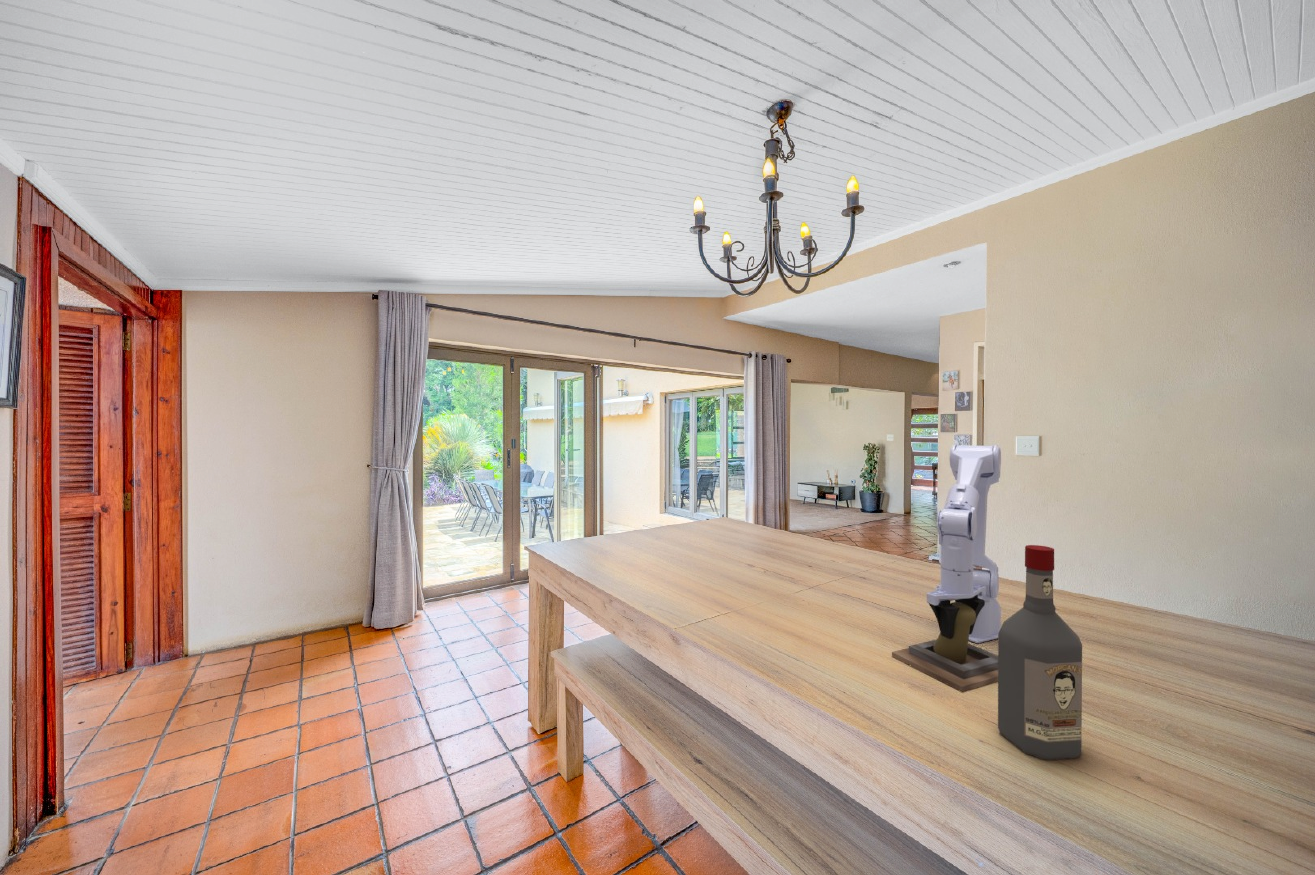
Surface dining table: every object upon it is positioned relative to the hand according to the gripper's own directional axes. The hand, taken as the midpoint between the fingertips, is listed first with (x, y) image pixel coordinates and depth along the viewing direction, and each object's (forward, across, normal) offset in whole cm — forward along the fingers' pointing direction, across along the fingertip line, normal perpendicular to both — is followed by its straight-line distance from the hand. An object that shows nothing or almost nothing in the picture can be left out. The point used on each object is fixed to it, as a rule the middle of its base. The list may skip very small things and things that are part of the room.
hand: (956, 634), depth 106 cm
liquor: (+6, +12, +23) cm, 27 cm away
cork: (+4, 0, -2) cm, 5 cm away
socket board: (+6, 0, 0) cm, 6 cm away
